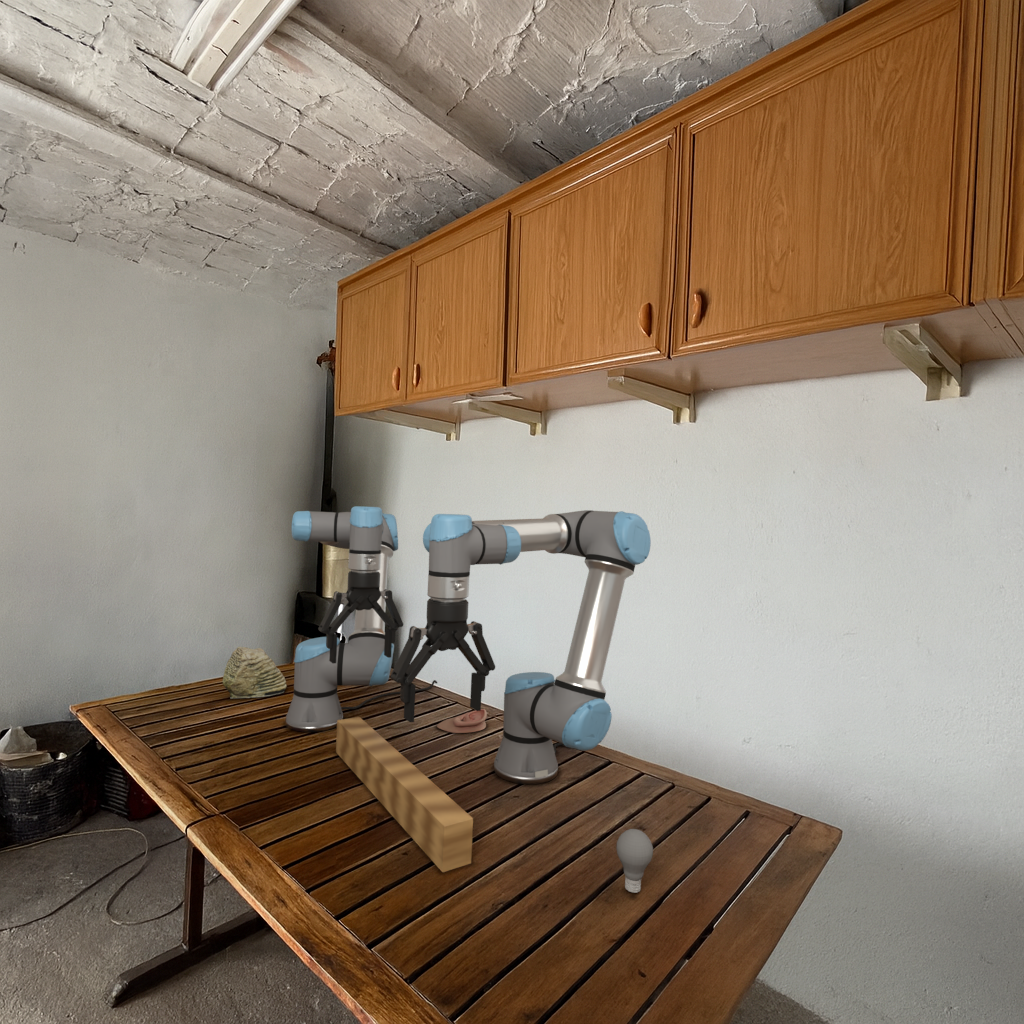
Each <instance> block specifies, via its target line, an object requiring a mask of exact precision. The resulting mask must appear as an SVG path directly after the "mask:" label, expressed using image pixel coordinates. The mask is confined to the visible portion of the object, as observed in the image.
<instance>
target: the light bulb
mask: <svg viewBox="0 0 1024 1024" xmlns="http://www.w3.org/2000/svg"><path fill="white" fill-rule="evenodd" d="M615 849H616V854H617V857H618V859H619V861H620V863H621V865H622V867H623V873H624V874H623V875H624V876H625V878H624V888H625V890H627V891H628V892H630V893H634V894H635V893H639V892H640V891H641V889H642V887H641V886H642V879H643V877H644V875H645V871H646V868H647V867H648V866H649V864H650V863H651V861H652V859H653V855H654V847H653V843H652V841H651V838H649V836H648V835H647V834H646V833H645V832H643V831H642V830H641V829H636V828H629V829H627V830H625V831H623V832H622V833H621V834H620V835H619V837H618V839H617V841H616V847H615Z"/></svg>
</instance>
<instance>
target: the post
mask: <svg viewBox="0 0 1024 1024" xmlns="http://www.w3.org/2000/svg"><path fill="white" fill-rule="evenodd" d="M335 741H336V742H335V753H336V754H337V755H338V756H339V757H340V759H341V760H342V761H343V762H344V763H345V764H346V765H347V766H348V768H349V769H350V770H351V771H352V773H354V774H355V775H356V777H357V778H358V779H359V780H360V781H361V783H362V784H363V785H364V786H365V787H366V788H367V789H368V791H370V793H372V795H373V796H374V797H375V798H376V799H377V801H378V802H380V804H381V805H382V806H383V807H384V808H385V809H386V811H387V812H388V813H389V814H390V815H391V816H392V818H393V819H395V821H396V822H397V823H398V824H399V825H400V826H401V827H402V829H403V830H404V831H405V832H406V833H407V834H408V836H409V837H410V838H411V839H412V840H413V841H414V842H415V844H417V846H419V848H420V849H421V850H422V851H423V853H425V855H426V856H427V857H428V858H429V859H430V861H431V862H432V863H433V864H434V865H435V866H436V867H437V868H438V869H439V870H440V871H441V873H445V872H449V871H452V870H455V869H458V868H461V867H464V866H468V865H471V864H472V854H473V853H472V852H473V835H474V834H473V832H474V831H473V830H474V827H473V826H474V817H473V816H471V815H470V814H469V813H468V812H467V811H465V809H464V808H462V807H461V806H460V805H459V804H458V803H457V802H455V801H454V800H453V799H452V798H451V797H449V795H447V793H445V792H444V790H442V789H441V788H440V787H438V785H436V784H435V783H434V782H433V781H432V780H431V779H430V778H429V777H428V776H426V775H425V774H424V773H423V772H422V771H421V770H420V769H418V767H416V766H415V765H414V764H413V763H412V762H410V760H409V759H407V758H406V757H405V756H404V755H403V754H402V753H401V752H400V751H398V750H397V749H396V748H395V747H394V746H393V745H392V744H391V743H390V742H388V741H387V740H386V738H384V737H383V736H382V735H380V734H379V733H378V732H377V731H376V730H375V729H373V727H372V726H371V725H370V724H368V723H367V722H366V721H365V720H364V719H363V718H361V717H360V716H354V717H349V718H343V719H341V720H337V727H336V739H335Z"/></svg>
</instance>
